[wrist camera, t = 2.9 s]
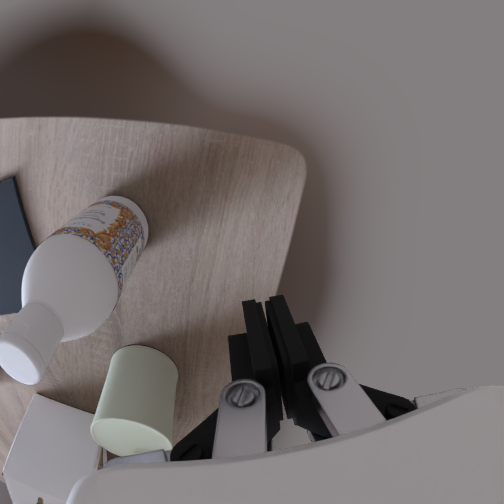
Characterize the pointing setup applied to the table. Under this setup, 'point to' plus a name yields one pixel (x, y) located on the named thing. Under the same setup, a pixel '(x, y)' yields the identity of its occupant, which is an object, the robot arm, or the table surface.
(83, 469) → the gable box
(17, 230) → the mat
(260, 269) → the table surface
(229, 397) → the robot arm
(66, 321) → the bath foam
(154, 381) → the can
